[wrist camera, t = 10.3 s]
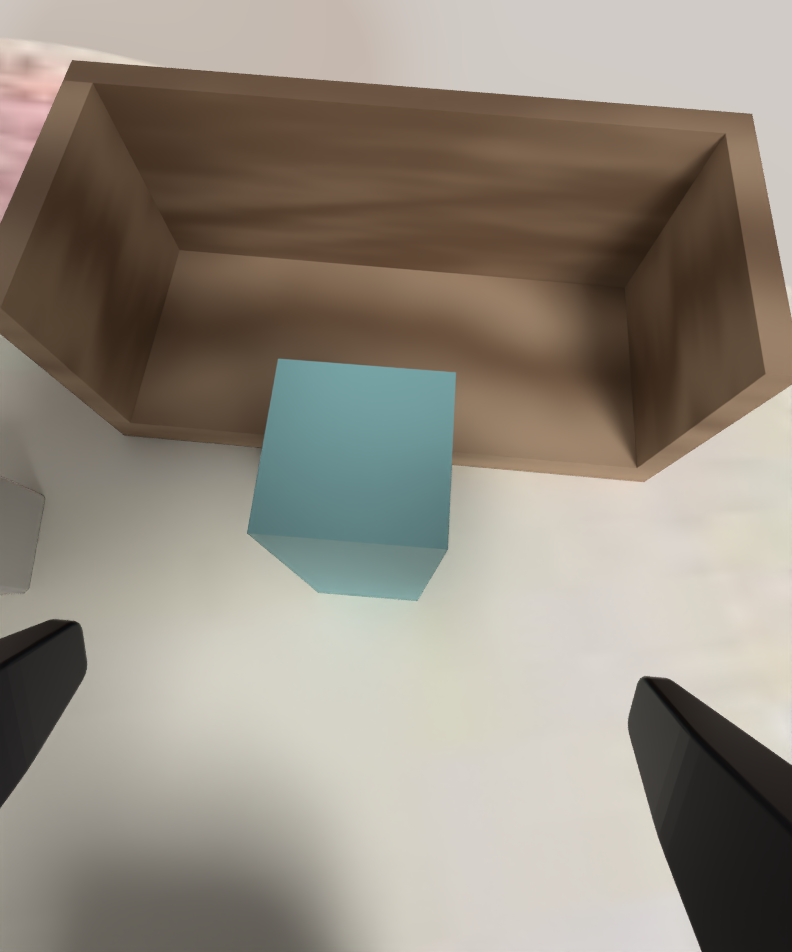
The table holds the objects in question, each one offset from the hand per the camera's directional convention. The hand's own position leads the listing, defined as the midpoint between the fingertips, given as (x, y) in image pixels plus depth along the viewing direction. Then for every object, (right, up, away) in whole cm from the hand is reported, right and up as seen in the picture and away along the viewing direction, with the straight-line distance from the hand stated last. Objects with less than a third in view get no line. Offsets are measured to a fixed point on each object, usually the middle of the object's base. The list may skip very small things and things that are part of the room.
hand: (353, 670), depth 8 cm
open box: (+1, +9, +16) cm, 18 cm away
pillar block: (0, 0, +13) cm, 13 cm away
